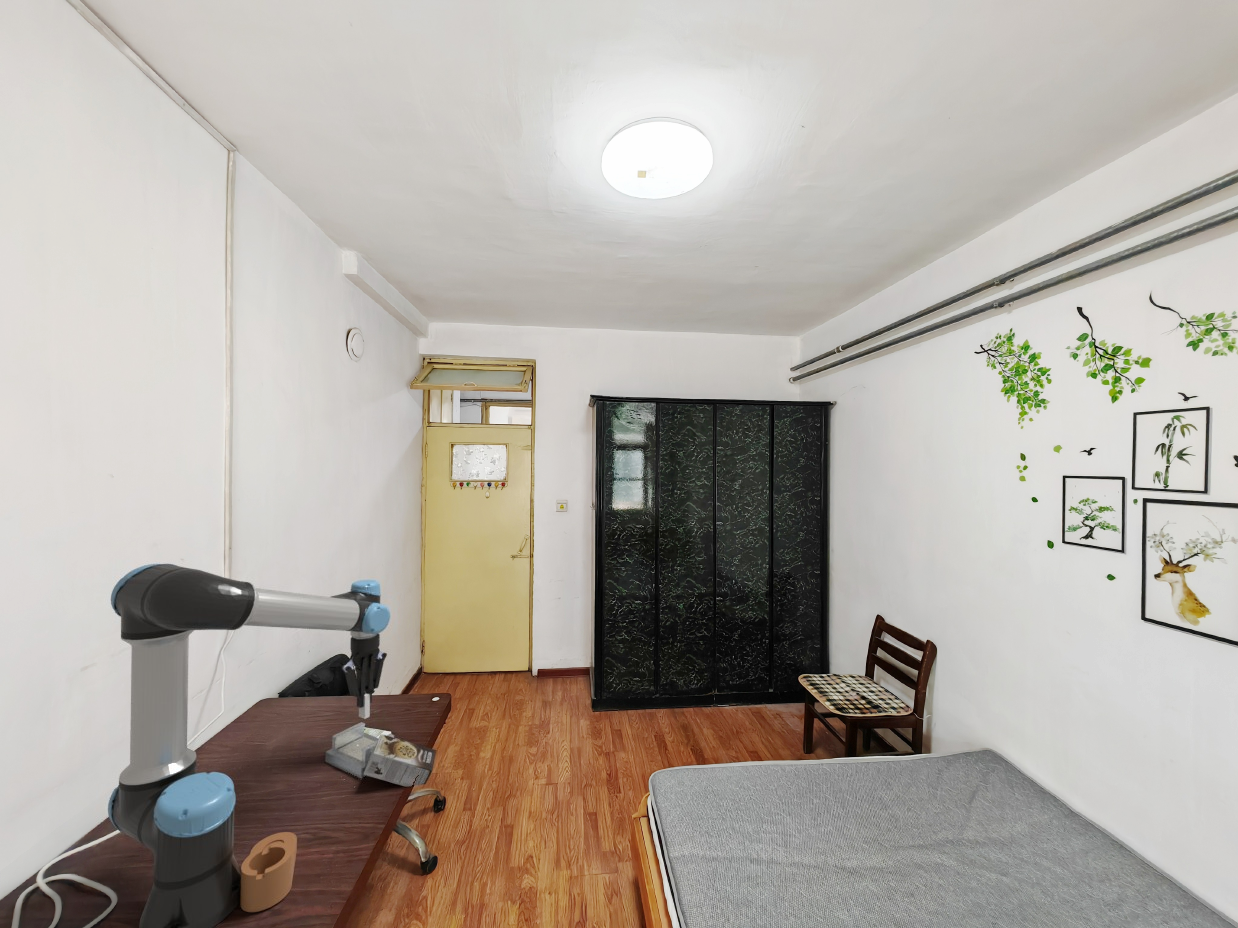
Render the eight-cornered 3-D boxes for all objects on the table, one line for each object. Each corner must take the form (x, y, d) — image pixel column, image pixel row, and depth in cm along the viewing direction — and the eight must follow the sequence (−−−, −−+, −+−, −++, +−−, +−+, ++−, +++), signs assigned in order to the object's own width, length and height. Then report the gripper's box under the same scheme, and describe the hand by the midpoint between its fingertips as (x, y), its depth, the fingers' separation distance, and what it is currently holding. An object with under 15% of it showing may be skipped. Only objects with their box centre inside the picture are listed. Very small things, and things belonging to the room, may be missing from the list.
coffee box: (381, 732, 138) (437, 748, 142) (370, 754, 138) (426, 769, 142) (373, 752, 129) (433, 769, 133) (362, 775, 129) (422, 792, 133)
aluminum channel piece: (361, 779, 135) (361, 753, 135) (325, 762, 142) (325, 737, 142) (399, 757, 145) (399, 733, 145) (364, 742, 153) (364, 719, 153)
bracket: (289, 901, 97) (289, 865, 97) (236, 918, 93) (237, 881, 93) (298, 839, 113) (299, 808, 113) (253, 852, 109) (254, 820, 109)
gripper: (352, 644, 136) (351, 730, 136) (393, 630, 148) (392, 709, 148) (335, 639, 140) (334, 723, 140) (377, 626, 151) (376, 703, 151)
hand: (364, 716), depth 144 cm, fingers closed
